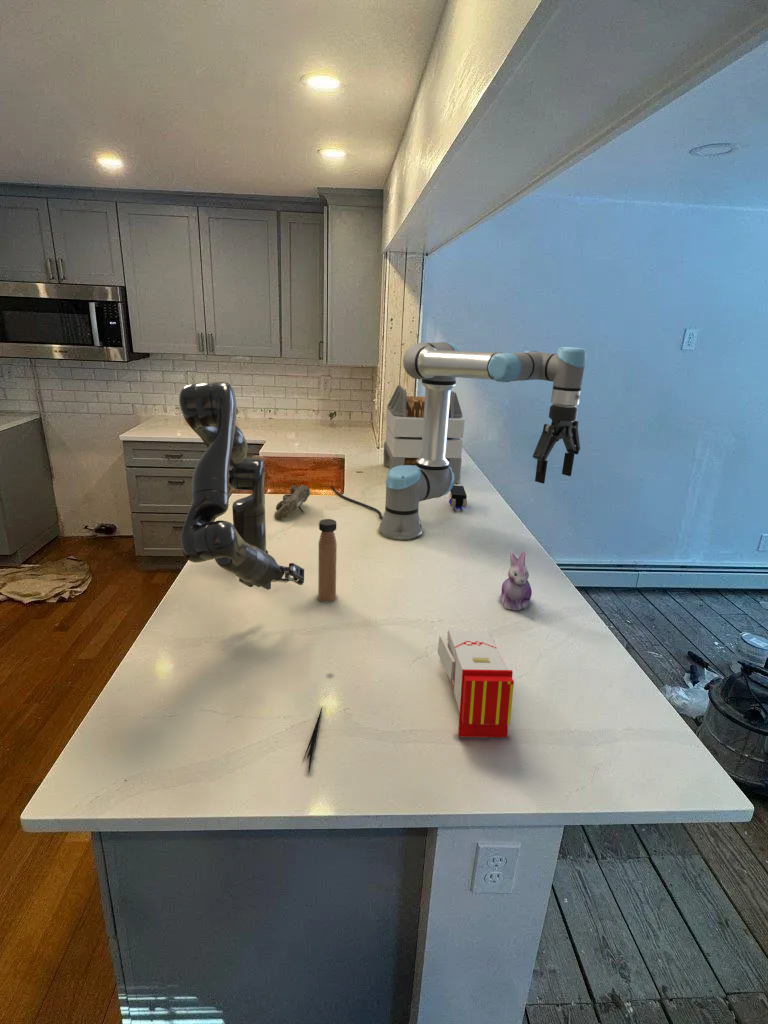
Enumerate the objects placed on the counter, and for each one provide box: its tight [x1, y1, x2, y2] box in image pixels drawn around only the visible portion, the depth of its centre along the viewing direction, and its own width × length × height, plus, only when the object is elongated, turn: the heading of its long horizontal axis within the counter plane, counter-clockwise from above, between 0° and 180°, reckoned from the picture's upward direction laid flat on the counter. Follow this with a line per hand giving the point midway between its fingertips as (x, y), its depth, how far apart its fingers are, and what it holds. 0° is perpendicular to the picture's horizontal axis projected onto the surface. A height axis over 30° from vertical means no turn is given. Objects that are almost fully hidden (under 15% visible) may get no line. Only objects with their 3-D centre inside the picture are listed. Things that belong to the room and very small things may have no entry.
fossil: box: [273, 484, 311, 521], centre depth 215 cm, size 22×10×15 cm
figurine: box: [500, 550, 533, 611], centre depth 153 cm, size 9×10×15 cm
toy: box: [437, 628, 515, 738], centre depth 117 cm, size 12×13×30 cm
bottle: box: [317, 531, 338, 602], centre depth 151 cm, size 5×5×22 cm
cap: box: [318, 518, 337, 532], centre depth 147 cm, size 4×4×2 cm
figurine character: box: [448, 484, 468, 512], centre depth 228 cm, size 7×8×15 cm
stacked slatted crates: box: [383, 384, 465, 484], centre depth 268 cm, size 34×33×41 cm
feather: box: [301, 673, 332, 771], centre depth 108 cm, size 2×28×2 cm
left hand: (285, 583), depth 137 cm, fingers open, 8 cm apart
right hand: (553, 478), depth 165 cm, fingers open, 13 cm apart
